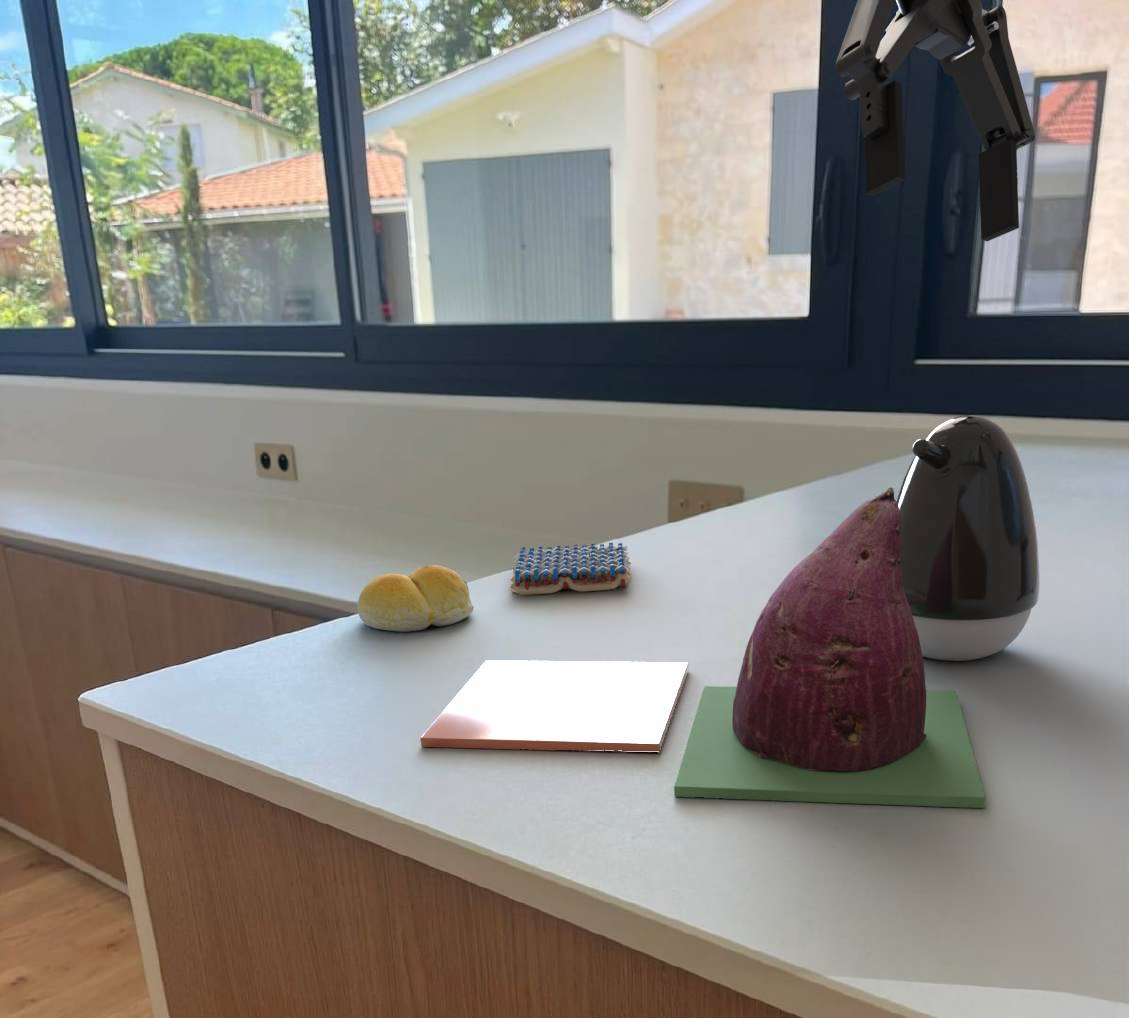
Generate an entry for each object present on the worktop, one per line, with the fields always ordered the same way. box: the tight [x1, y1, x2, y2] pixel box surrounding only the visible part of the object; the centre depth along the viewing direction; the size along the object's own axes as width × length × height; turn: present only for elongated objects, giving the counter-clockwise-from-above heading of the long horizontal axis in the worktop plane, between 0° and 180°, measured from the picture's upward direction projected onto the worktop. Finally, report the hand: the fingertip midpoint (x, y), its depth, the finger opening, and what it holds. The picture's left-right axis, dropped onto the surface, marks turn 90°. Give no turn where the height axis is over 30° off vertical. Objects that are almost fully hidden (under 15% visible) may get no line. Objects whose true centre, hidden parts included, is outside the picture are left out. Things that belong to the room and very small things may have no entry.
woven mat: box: [508, 542, 633, 596], centre depth 100 cm, size 10×11×2 cm
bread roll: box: [356, 564, 475, 633], centre depth 91 cm, size 8×9×4 cm
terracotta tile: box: [419, 660, 690, 752], centre depth 71 cm, size 14×14×1 cm
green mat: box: [673, 685, 986, 809], centre depth 64 cm, size 15×15×1 cm
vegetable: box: [732, 487, 927, 772], centre depth 61 cm, size 10×10×15 cm
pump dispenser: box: [895, 414, 1041, 662], centre depth 74 cm, size 10×10×15 cm
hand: (945, 211), depth 83 cm, fingers open, 13 cm apart
